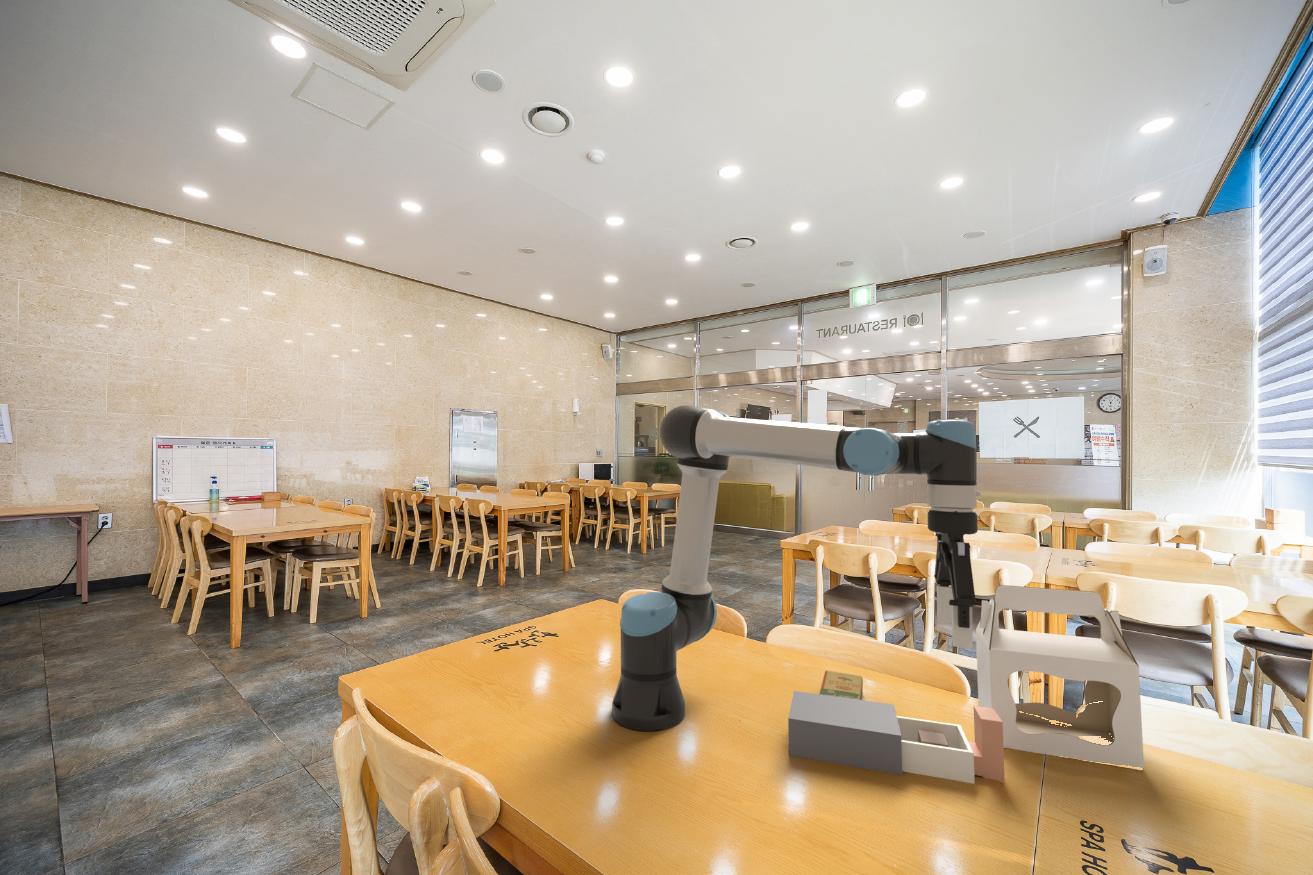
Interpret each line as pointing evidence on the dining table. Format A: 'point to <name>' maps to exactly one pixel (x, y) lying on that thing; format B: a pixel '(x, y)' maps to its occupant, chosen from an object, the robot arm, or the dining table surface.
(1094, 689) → the gable box
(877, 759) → the sleeve
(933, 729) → the tray
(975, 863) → the dining table surface
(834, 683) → the carton
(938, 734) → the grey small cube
